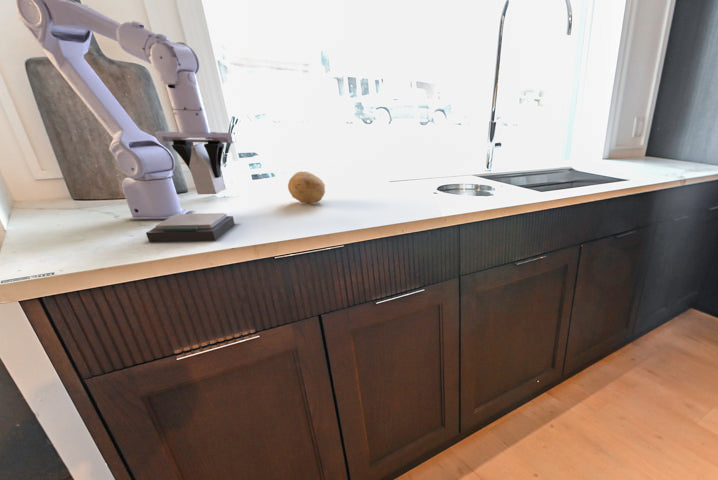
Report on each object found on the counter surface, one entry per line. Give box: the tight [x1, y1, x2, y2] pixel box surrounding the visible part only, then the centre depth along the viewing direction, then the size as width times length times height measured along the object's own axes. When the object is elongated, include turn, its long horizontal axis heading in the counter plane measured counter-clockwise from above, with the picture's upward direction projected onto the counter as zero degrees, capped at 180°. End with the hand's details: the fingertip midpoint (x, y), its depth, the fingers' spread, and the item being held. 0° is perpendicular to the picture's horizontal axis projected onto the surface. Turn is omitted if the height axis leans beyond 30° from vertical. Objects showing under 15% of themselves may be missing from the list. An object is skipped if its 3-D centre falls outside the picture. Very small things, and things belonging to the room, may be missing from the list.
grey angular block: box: [189, 142, 226, 195], centre depth 96 cm, size 4×7×10 cm, turn 14°
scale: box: [145, 212, 236, 243], centre depth 92 cm, size 12×13×3 cm
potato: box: [287, 171, 326, 205], centre depth 119 cm, size 10×14×8 cm
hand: (207, 177), depth 97 cm, fingers closed on grey angular block, 4 cm apart
